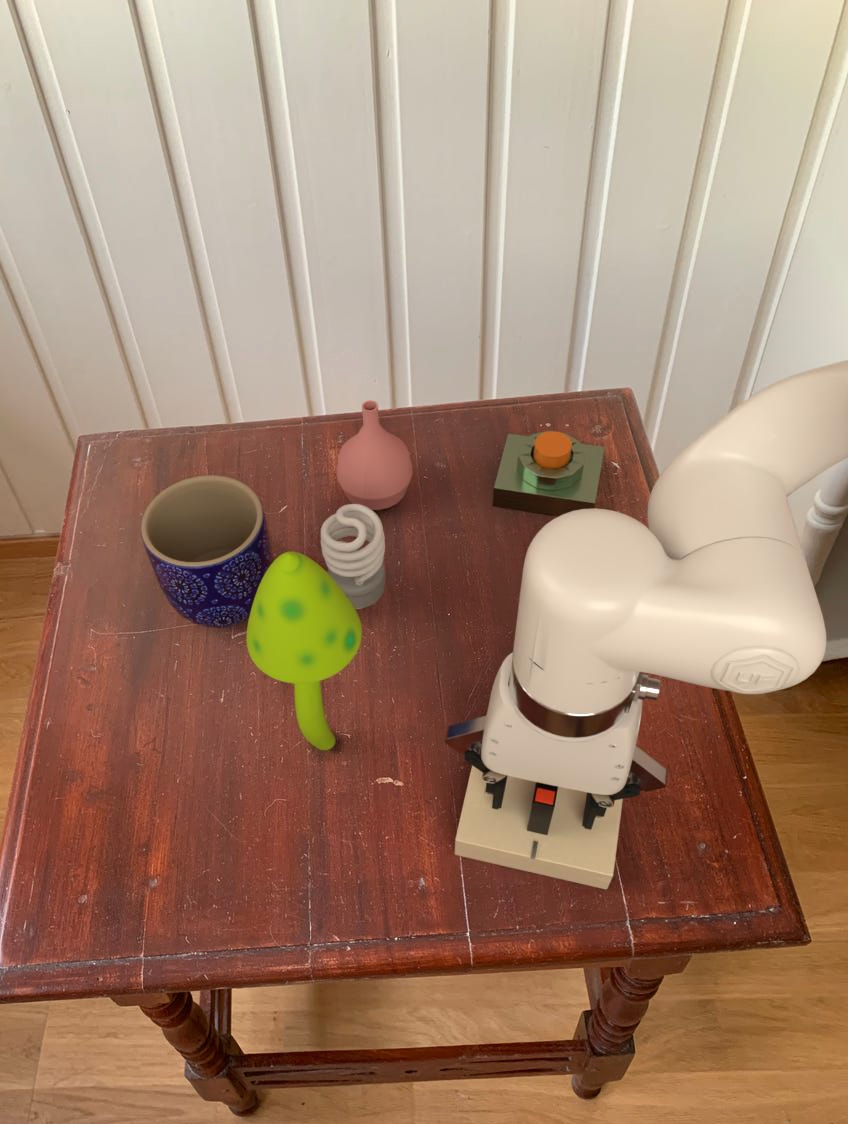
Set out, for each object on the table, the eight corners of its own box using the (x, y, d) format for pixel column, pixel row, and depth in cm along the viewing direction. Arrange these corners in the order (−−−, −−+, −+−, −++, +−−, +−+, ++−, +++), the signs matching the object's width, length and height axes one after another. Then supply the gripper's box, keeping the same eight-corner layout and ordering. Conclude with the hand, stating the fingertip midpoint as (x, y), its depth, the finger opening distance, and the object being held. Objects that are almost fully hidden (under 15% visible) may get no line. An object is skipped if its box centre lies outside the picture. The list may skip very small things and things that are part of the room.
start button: (572, 446, 94) (574, 433, 92) (567, 472, 92) (569, 459, 90) (536, 441, 94) (538, 428, 93) (530, 466, 92) (532, 453, 91)
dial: (537, 773, 74) (544, 742, 70) (557, 778, 74) (565, 746, 70) (526, 830, 72) (532, 801, 67) (547, 835, 71) (554, 806, 67)
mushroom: (386, 713, 82) (371, 521, 61) (353, 797, 78) (325, 619, 57) (298, 688, 84) (255, 494, 63) (261, 768, 80) (202, 587, 59)
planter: (247, 536, 95) (228, 456, 85) (301, 607, 89) (286, 529, 80) (150, 585, 92) (119, 507, 83) (200, 661, 86) (172, 587, 77)
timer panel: (620, 785, 77) (626, 768, 74) (607, 891, 72) (613, 876, 69) (476, 755, 79) (478, 737, 76) (454, 856, 74) (454, 840, 72)
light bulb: (322, 591, 90) (308, 505, 80) (376, 573, 91) (369, 486, 81) (341, 635, 87) (330, 552, 77) (397, 616, 88) (393, 531, 78)
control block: (601, 465, 98) (607, 433, 94) (591, 521, 93) (597, 490, 90) (506, 452, 100) (509, 419, 96) (492, 506, 95) (494, 474, 92)
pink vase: (416, 470, 99) (414, 379, 89) (410, 524, 94) (407, 435, 85) (343, 468, 100) (334, 377, 90) (334, 521, 95) (323, 433, 85)
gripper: (719, 654, 58) (662, 782, 73) (447, 606, 62) (445, 738, 76) (712, 759, 54) (653, 872, 69) (421, 701, 58) (424, 821, 72)
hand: (544, 801), depth 72 cm, fingers open, 6 cm apart
